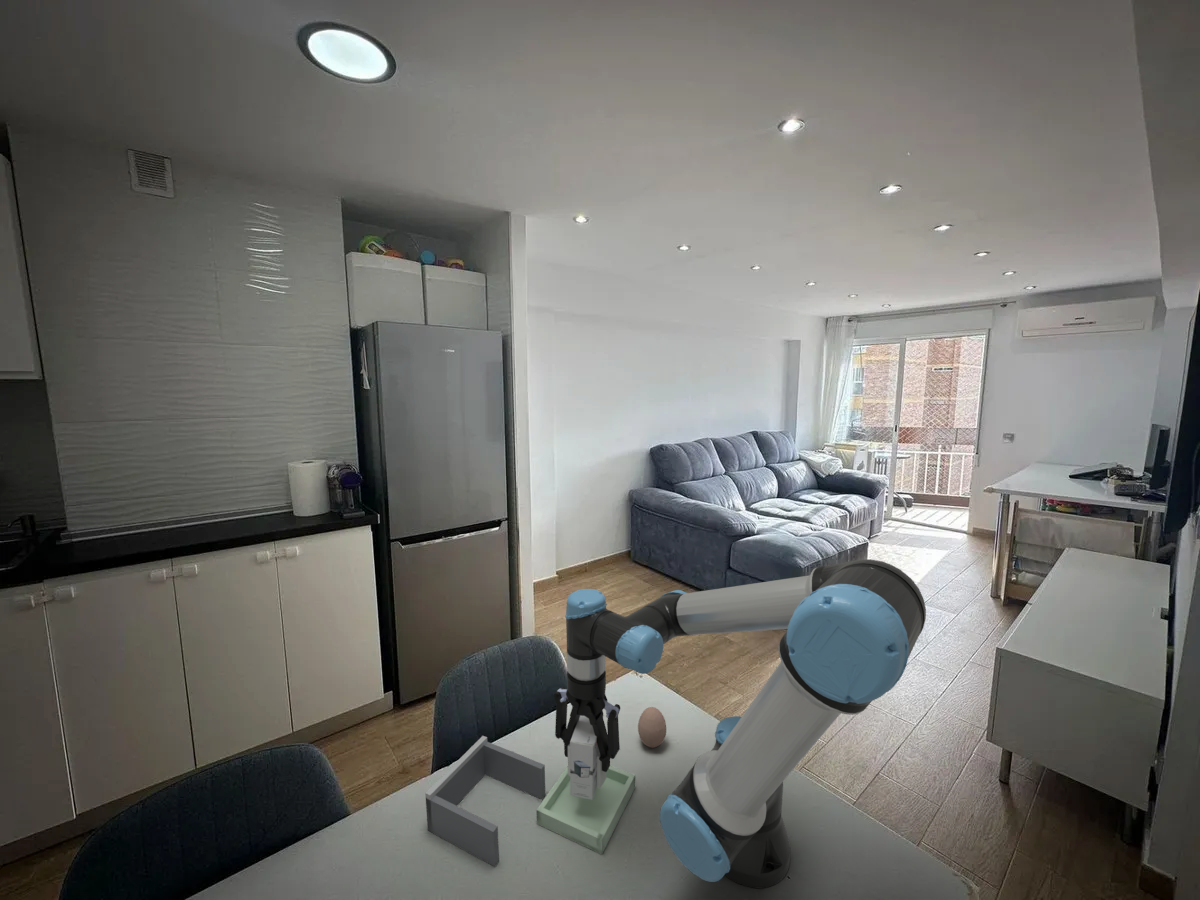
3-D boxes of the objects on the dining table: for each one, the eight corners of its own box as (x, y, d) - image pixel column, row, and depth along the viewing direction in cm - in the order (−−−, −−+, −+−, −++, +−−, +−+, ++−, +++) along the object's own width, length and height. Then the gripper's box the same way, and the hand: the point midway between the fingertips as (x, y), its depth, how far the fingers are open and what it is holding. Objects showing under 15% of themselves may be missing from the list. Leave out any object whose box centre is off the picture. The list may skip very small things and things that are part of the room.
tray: (635, 787, 100) (635, 774, 100) (601, 854, 86) (601, 840, 85) (576, 764, 106) (576, 752, 106) (536, 823, 92) (536, 810, 92)
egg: (653, 760, 107) (653, 723, 106) (632, 743, 112) (632, 708, 111) (672, 745, 112) (672, 709, 111) (651, 730, 117) (651, 695, 115)
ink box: (581, 762, 100) (579, 711, 99) (604, 765, 99) (603, 714, 98) (569, 796, 92) (568, 741, 90) (595, 801, 91) (594, 745, 89)
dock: (545, 795, 98) (544, 760, 97) (494, 867, 84) (493, 826, 83) (484, 768, 105) (482, 735, 104) (427, 830, 91) (425, 792, 90)
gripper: (638, 672, 91) (637, 779, 95) (554, 648, 100) (556, 748, 103) (623, 695, 85) (622, 810, 88) (534, 667, 93) (537, 773, 96)
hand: (587, 776), depth 95 cm, fingers closed on ink box, 6 cm apart
